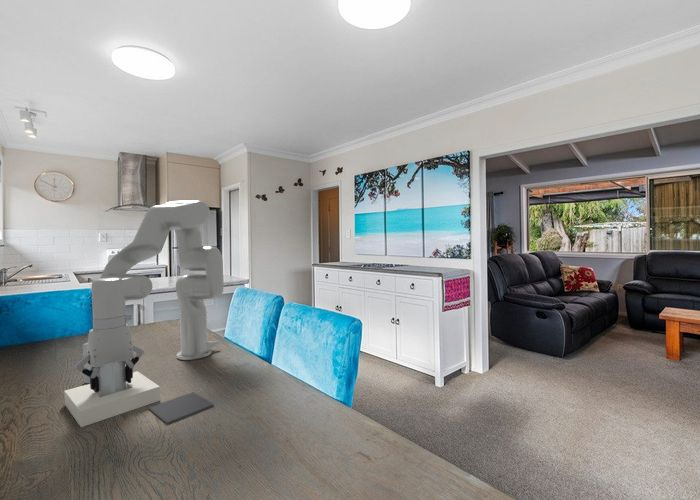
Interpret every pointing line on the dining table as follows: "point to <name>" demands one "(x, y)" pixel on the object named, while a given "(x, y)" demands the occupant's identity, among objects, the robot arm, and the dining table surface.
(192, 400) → the rubber mat
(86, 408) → the bore holder
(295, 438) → the dining table surface
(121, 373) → the skincare box
